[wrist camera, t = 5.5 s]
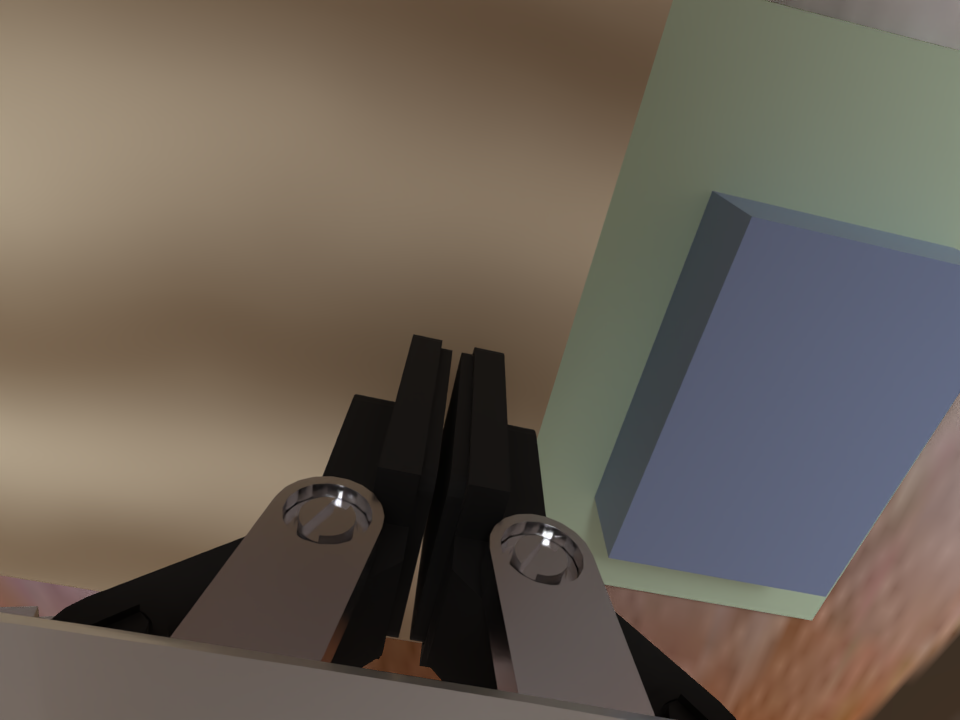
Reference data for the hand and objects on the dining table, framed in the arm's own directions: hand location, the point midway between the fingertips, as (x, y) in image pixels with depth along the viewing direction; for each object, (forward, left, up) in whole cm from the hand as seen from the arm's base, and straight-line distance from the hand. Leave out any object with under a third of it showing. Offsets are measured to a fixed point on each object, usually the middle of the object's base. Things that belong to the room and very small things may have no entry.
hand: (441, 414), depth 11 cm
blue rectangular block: (0, +8, -4) cm, 9 cm away
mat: (0, +8, -5) cm, 9 cm away
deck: (0, -4, -5) cm, 6 cm away
